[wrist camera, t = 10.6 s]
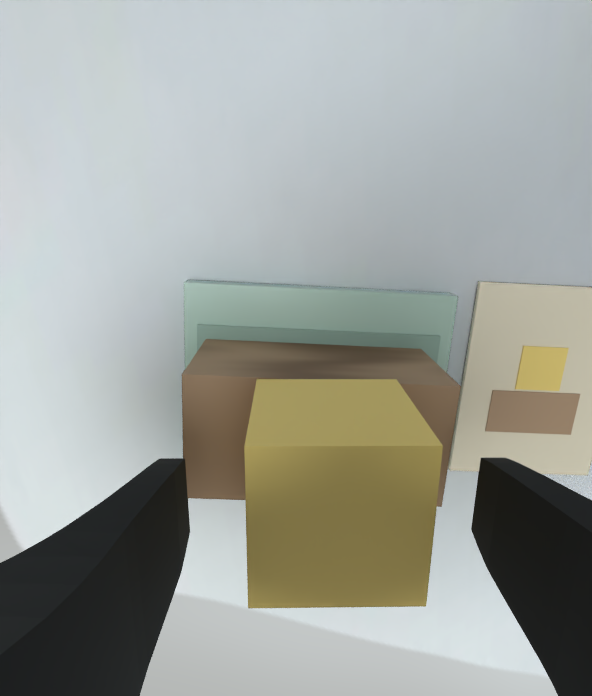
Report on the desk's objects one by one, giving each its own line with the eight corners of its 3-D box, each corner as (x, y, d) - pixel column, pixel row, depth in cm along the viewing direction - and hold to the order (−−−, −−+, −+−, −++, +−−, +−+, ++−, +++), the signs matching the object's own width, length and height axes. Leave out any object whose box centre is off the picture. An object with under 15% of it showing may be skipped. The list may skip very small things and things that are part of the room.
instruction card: (631, 289, 18) (636, 290, 17) (584, 472, 20) (588, 476, 19) (478, 281, 17) (480, 282, 17) (448, 468, 19) (450, 471, 19)
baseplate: (450, 292, 17) (460, 297, 16) (423, 477, 20) (430, 490, 19) (188, 279, 17) (182, 283, 16) (190, 469, 19) (185, 482, 18)
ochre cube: (396, 379, 13) (443, 446, 9) (387, 501, 14) (425, 606, 10) (256, 378, 13) (243, 446, 9) (258, 501, 14) (248, 608, 10)
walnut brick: (421, 348, 17) (460, 386, 13) (408, 445, 18) (441, 506, 14) (205, 338, 17) (182, 374, 13) (205, 437, 18) (183, 497, 14)
